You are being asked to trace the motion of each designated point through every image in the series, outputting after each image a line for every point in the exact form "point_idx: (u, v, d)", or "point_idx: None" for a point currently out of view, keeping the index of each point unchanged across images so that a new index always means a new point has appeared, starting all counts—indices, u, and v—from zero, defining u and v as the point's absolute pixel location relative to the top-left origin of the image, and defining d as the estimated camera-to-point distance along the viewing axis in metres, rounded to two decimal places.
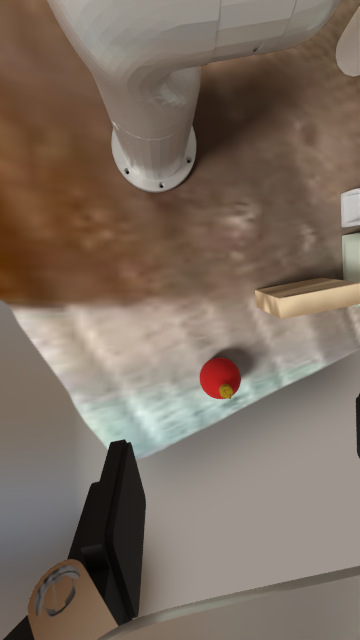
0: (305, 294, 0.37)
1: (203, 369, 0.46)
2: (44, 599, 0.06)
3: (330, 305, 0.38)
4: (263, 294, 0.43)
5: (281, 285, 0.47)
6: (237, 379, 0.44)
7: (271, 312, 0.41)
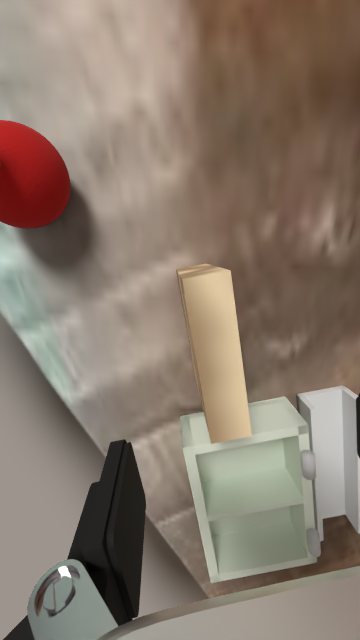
0: (236, 329, 0.17)
1: (37, 132, 0.19)
2: (44, 599, 0.06)
3: (209, 384, 0.18)
4: (210, 266, 0.22)
5: None
6: (17, 209, 0.19)
7: (183, 274, 0.19)
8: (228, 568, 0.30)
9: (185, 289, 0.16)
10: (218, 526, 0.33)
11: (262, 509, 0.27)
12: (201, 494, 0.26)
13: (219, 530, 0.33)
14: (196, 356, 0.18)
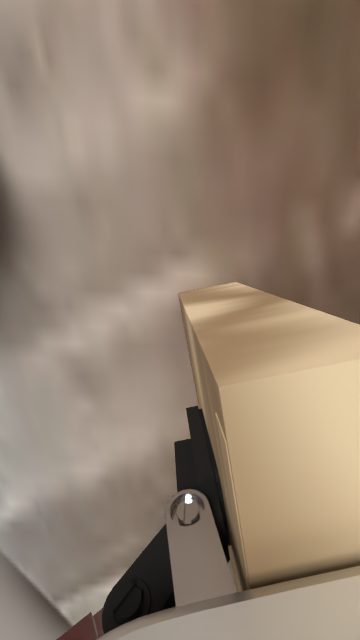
0: None
1: None
2: (178, 515, 0.07)
3: None
4: (259, 293, 0.10)
5: None
6: None
7: (204, 324, 0.07)
8: None
9: (231, 424, 0.04)
10: None
11: None
12: None
13: None
14: None
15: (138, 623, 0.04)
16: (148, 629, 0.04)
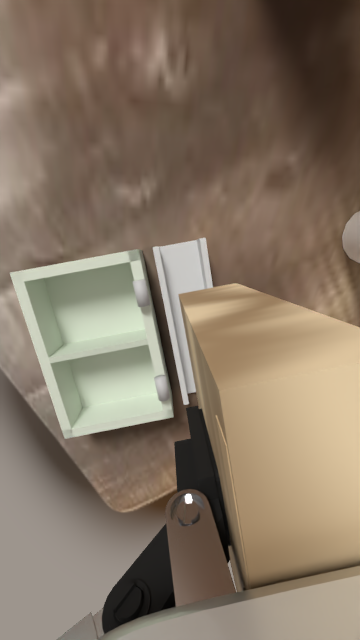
0: None
1: None
2: (178, 515, 0.07)
3: None
4: (259, 295, 0.10)
5: None
6: None
7: (204, 326, 0.07)
8: (83, 424, 0.29)
9: (231, 428, 0.04)
10: (87, 396, 0.32)
11: (105, 350, 0.27)
12: (38, 330, 0.26)
13: (89, 401, 0.32)
14: None
15: (138, 623, 0.04)
16: (148, 629, 0.04)
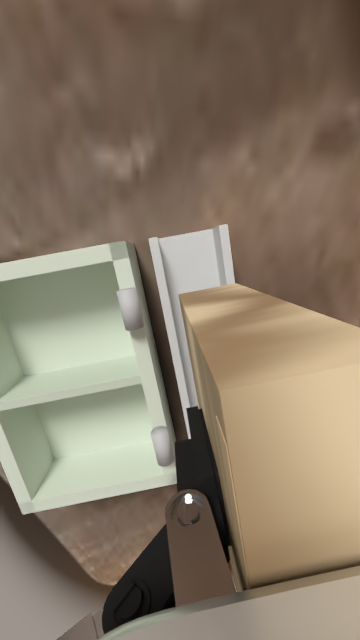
0: None
1: None
2: (178, 515, 0.07)
3: None
4: (259, 295, 0.10)
5: None
6: None
7: (204, 327, 0.07)
8: (49, 493, 0.20)
9: (231, 429, 0.04)
10: (60, 445, 0.24)
11: (78, 392, 0.18)
12: None
13: (63, 451, 0.24)
14: None
15: (138, 623, 0.04)
16: (148, 629, 0.04)
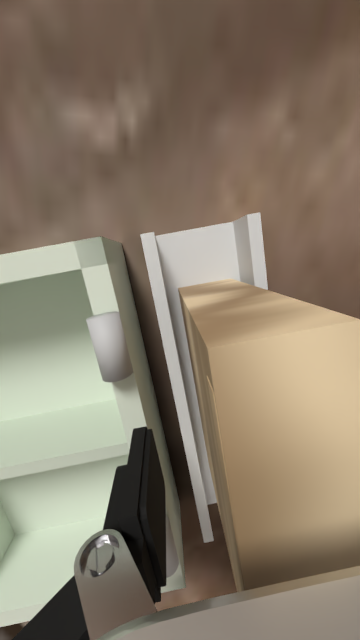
0: (355, 480, 0.06)
1: None
2: (88, 562, 0.06)
3: None
4: (249, 287, 0.11)
5: None
6: None
7: (199, 310, 0.08)
8: None
9: (216, 377, 0.05)
10: (23, 517, 0.17)
11: (33, 468, 0.12)
12: None
13: (27, 524, 0.18)
14: (240, 547, 0.06)
15: (138, 623, 0.04)
16: (148, 629, 0.04)
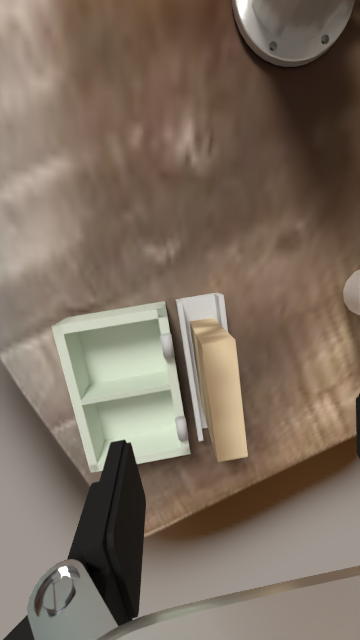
0: (238, 379, 0.24)
1: None
2: (44, 599, 0.06)
3: (218, 418, 0.25)
4: (218, 325, 0.29)
5: None
6: None
7: (199, 335, 0.27)
8: None
9: (203, 352, 0.23)
10: (109, 431, 0.35)
11: (132, 394, 0.30)
12: (73, 376, 0.29)
13: (111, 435, 0.35)
14: (209, 398, 0.24)
15: (138, 623, 0.04)
16: (148, 629, 0.04)
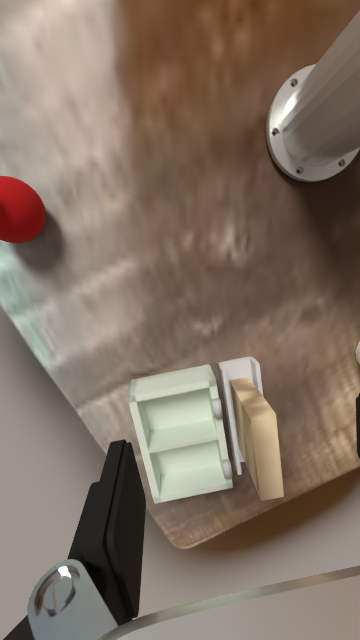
0: (277, 442, 0.32)
1: (22, 182, 0.30)
2: (44, 599, 0.06)
3: (261, 469, 0.33)
4: (256, 389, 0.37)
5: None
6: (9, 231, 0.29)
7: (244, 403, 0.34)
8: (167, 492, 0.40)
9: (252, 423, 0.31)
10: (164, 466, 0.43)
11: (188, 444, 0.38)
12: (142, 432, 0.37)
13: (165, 470, 0.43)
14: (255, 455, 0.32)
15: (138, 623, 0.04)
16: (148, 629, 0.04)
